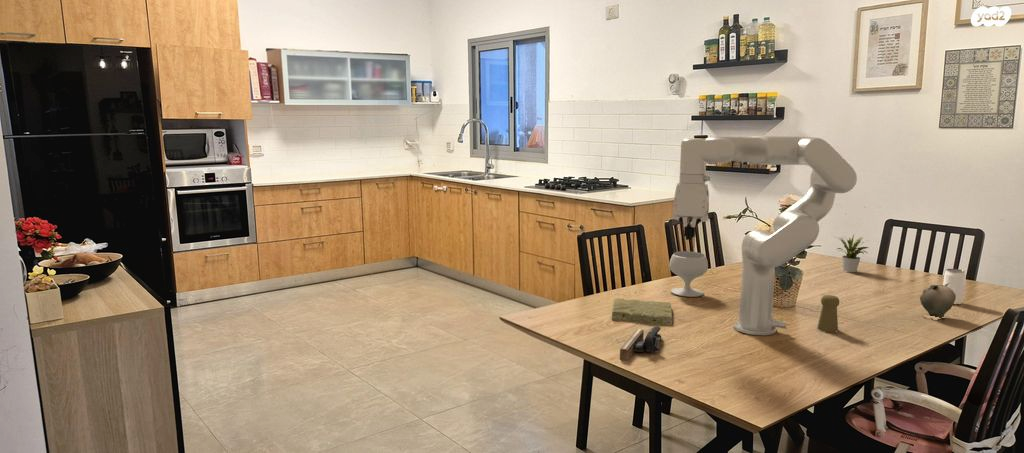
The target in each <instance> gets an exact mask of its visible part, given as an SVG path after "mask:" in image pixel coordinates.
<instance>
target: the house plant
mask: <svg viewBox="0 0 1024 453" xmlns="http://www.w3.org/2000/svg"><path fill="white" fill-rule="evenodd" d="M843 237H844V235H842V237H841V238H840V237H836V236H835V238H836V239H839V240H840V241H841V242H842V244H843V247H844V249H845V250H846V251H845V250H844V249H843V248H841V247H837V248H836V250H837V251H838V252H844V253H845V255H842V256H841V261H842V262H841V263H842V271H843V270H844V271H847V272H846V273H849V272H856V271H858V267H859V264H860V262H861V261H860V260H861V257H860V256H858V255H859V254H861V253H862V254H863V255H865V254H868V252H867V251H866V249H870V246H869V247H868V246H861V247H860V245H861V243H862V244H863V243H865V242H868V241H870V240H865V241H862V239H863V238H864V237H862V236H859V238H857V239H856V240H855V241H854V237H855V234H853V235H852V238H850V237H848V239H846V241H845V240H844V238H845V237H844V238H843ZM844 271H843V272H844ZM856 273H857V272H856Z"/></svg>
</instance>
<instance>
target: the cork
mask: <svg viewBox="0 0 1024 453" xmlns="http://www.w3.org/2000/svg"><path fill="white" fill-rule="evenodd" d="M820 303H821V305H822V306H821V311H820V316H819V319H818V323H817V327H816V329H817V330H818V329H819V330H818V331H820V330H821V332H823V331H825V332H824V333H829V332H835V333H837V332H836V331H838V332H839V325H838V324H839V322H838V306H840V299H839V297H838V296H835V295H832V294H827V295H826V294H825V295H823V296H822V297H821V298H820Z"/></svg>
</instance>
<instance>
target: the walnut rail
mask: <svg viewBox="0 0 1024 453" xmlns="http://www.w3.org/2000/svg"><path fill="white" fill-rule="evenodd" d="M644 332H645V330H644V329H642V328H637V329H636V330H635V331H634V332H632V335H630V337H629V338H628V339H627V340H626V341H625V342H624V344H623V345H622V346H621V347H620V348H619V360H623V361H628V360H629V358H630V357H631V356H632V355H633V353H634V352H635V351H636V350H635V345H636V343H637V342H642V341H644V334H645V333H644Z"/></svg>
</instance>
